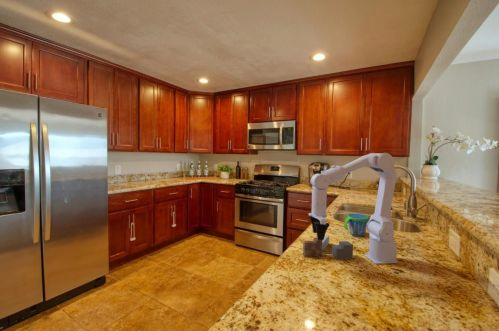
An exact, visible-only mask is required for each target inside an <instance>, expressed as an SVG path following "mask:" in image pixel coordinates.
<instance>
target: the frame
mask: <svg viewBox="0 0 499 331" xmlns="http://www.w3.org/2000/svg"><path fill="white" fill-rule="evenodd" d="M325 254H326V255H327V254H332V251H322V240H318V238H317V237H313V240H302V256H303V257H307V258H308V257H315V258H316V257H323V255H325Z"/></svg>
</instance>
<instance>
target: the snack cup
mask: <svg viewBox="0 0 499 331" xmlns="http://www.w3.org/2000/svg"><path fill="white" fill-rule="evenodd" d="M369 220H370V217H369V216H368V215H366V214H363V213H362V214H361V213H356V212H355V213H347V215H346V218H345V220H344V224H343V228H344V230H346V231H348V230H349V233H350V235H351V236H356V237H363V236H365V235H366V232H367V223H368V222H369Z"/></svg>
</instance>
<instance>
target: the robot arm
mask: <svg viewBox="0 0 499 331" xmlns="http://www.w3.org/2000/svg"><path fill="white" fill-rule="evenodd" d="M395 163H396V159H395V158H394V157H393V156H392V155H391V154H390V153H388V152H382V153H375V152H370V153H368V154H365V155H362V156H360V157H359V158H357V159H353V161H350V162H348V163H346V164H344V165H342V166H341V165H338V164H337V165H335V164H334V165H331V166H330V167H331V168H328V169H326V170H321V171H320V173H315V174H313V175H312V176H311V179H310V181H309V182H310V183H309V184H310V185H311V189H312V190H311V191H312V192H311V212H308V218H309V220H310V222H311V226H312V232H313V234H316V238H318V240H324V238H325V237H326V233H327V231H328V228H329V227H330V222H327V195H328V193H327V192H328V190H327V189H328V188H329V186H330V185H332V184H334V183H337V182H338V181H341V180H343V179H345V177H346V175H347V174H350V173H351V172H354V171H357V170H359V169H362V168H364V167H365V168H366V167H368V168H369V169H371V170H373V171H375V172H376V173H377V175H378V176H379V183H378V189H377V194H376V195H377V196H376V200H375V208H374V213H373V214H372V215H370V217H369V219H370V220H369V222H368V223H367V227H366V231H368V232H369V233H368V234H369V237H368V238H369V241H368V242H369V243H368V253H364V254H363V256H365V257H366V258H368V259H369V260H370V261H371V262H372V263H374V264H375V265H383V264H384V265H385V264H398V261H397V248H398V246H397V243H396V241H395V239H393V238H394V237H395V231H394V222H393V220H392V218H391V211H392V205H393V199H394V195H395V194H394V192H395V188H396V182H397V176H398V175H397V174H398V173H397V172H398V171H397V170H396V169H397V168H396V167H395Z"/></svg>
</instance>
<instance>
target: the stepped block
mask: <svg viewBox="0 0 499 331" xmlns="http://www.w3.org/2000/svg"><path fill="white" fill-rule="evenodd" d="M331 246H332V247H331V252H332V253H331V256H333V258H334V259H336V260H353V256H354V255H353V254H354V244H353V243H351V242H350V241H348V240H344V241H343V240H341V241H340V240H339V242H338V244H332V245H331Z"/></svg>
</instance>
